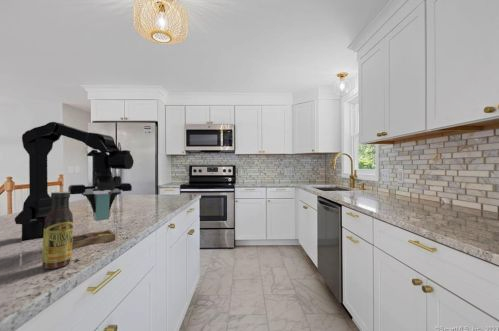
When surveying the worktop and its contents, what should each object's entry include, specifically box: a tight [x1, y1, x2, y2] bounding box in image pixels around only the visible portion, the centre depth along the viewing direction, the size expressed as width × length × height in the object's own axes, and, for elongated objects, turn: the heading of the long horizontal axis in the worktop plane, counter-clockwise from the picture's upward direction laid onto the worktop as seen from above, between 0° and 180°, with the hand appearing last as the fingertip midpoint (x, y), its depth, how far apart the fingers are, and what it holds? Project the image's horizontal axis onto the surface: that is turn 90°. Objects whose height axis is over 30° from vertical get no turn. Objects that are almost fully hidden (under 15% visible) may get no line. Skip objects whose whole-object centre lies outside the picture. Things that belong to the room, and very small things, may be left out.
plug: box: [93, 192, 110, 222], centre depth 84 cm, size 4×4×9 cm
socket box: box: [72, 229, 116, 249], centre depth 81 cm, size 14×8×3 cm, turn 134°
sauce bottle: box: [41, 191, 74, 270], centre depth 63 cm, size 7×6×20 cm
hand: (101, 211), depth 84 cm, fingers closed on plug, 4 cm apart
